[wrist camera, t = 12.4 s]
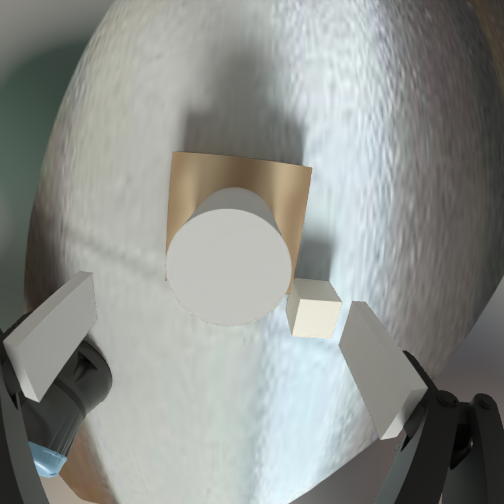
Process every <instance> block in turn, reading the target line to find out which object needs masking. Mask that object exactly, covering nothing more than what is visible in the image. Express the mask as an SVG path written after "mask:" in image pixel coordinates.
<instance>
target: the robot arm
mask: <svg viewBox="0 0 504 504" xmlns="http://www.w3.org/2000/svg"><path fill="white" fill-rule="evenodd" d="M97 320H98V318H97V311H96V303H95V294H94V284H93V273H90V272H84V271H79V272H78V273H77V274H76V275H75V276H73V277H72V278H71V279H70V280H69V281H68V282H66V283H65V284H64V285H63V286H62V287H61V288H59V289H58V290H57V291H56V292H55V293H54V294H53V295H51V296H50V297H49V298H48V299H47V300H46V301H45V302H44V303H42V304H41V305H40V306H39V307H38V308H37V309H36V310H35V311H31V312H29V313H27V314H25V315H23V316H22V317H21V318H20V319H19V320H17V322H16V323H14V324H13V325H12V327H10V328H9V329H8V330H7V331H6V332H5V333H3V332H2V330H1V328H0V504H49V502H48V499H47V497H46V494H45V492H44V489H43V486H42V484H41V481H40V478H39V475H40V476H43V477H54V476H56V475H57V474H58V473H59V471H60V470H61V468H62V466H63V464H64V463H65V461H67V456H68V453H69V451H70V449H71V447H72V444H73V442H74V440H75V438H76V436H77V433H78V431H79V429H80V427H81V425H82V423H83V421H84V418H85V416H86V415H87V414H88V413H89V412H90V411H91V410H92V409H94V408H95V407H96V406H97V405H98V404H99V403H100V402H102V401H103V400H104V399H105V398H106V397H107V395H108V393H109V391H110V389H111V386H112V376H111V372H110V370H109V368H108V366H107V364H106V363H105V361H104V360H103V358H102V357H101V356H100V355H99V353H98V352H97V351H96V350H95V349H94V348H92V347H91V346H90V345H89V344H88V343H86V342H85V341H83V338H84V337H85V336H86V334H87V333H88V332H89V330H90V329H91V328H92V326H93V325H94V324H95V322H96V321H97ZM339 347H340V350H341V352H342V354H343V356H344V358H345V360H346V363H347V365H348V367H349V369H350V371H351V373H352V376H353V378H354V380H355V382H356V384H357V387H358V389H359V391H360V393H361V396H362V398H363V400H364V402H365V405H366V407H367V409H368V412H369V414H370V416H371V418H372V421H373V423H374V425H375V428H376V430H377V432H378V435H379V437H380V439H387V438H392V437H397V435H398V434H399V432H400V431H401V430H402V428H403V427H404V429H405V431H406V433H407V434H406V435H405V437H404V438H403V439H402V441H401V442H400V443H399V445H398V446H397V447H396V449H395V450H396V451H397V450H398V449H399V450H398V452H397V454H396V457H395V459H394V461H393V463H392V465H391V468H390V470H389V472H388V474H387V476H386V478H385V480H384V482H383V484H382V486H381V488H380V490H379V492H378V494H377V496H376V498H375V500H374V501H373V503H372V504H438V503H439V500H440V497H441V494H442V504H504V429H503V425H502V421H501V418H500V414H499V411H498V407H497V404H496V402H495V401H494V400H493V399H492V397H490V396H489V395H486V394H483V393H482V394H480V393H479V394H476V395H475V397H474V398H473V399H472V401H471V402H470V403H467V402H459V401H458V399H457V398H456V397H455V396H454V395H453V394H452V393H450V392H448V391H443V390H438V389H437V388H436V386H435V385H434V383H433V382H432V380H431V379H430V378H429V376H428V375H427V373H426V372H424V369H423V368H422V367H421V366H420V364H419V362H418V361H417V360H416V358H415V357H414V356H413V355H411V354H410V353H409V352H407V351H402V350H401V349H400V347H399V346H398V345H397V343H396V342H395V341H394V339H393V338H392V336H391V335H390V334H389V332H388V331H387V330H386V328H385V327H384V326H383V324H382V323H381V322H380V320H379V319H378V318H377V316H376V315H375V314H374V312H373V311H372V310H371V308H370V307H369V306H368V305H367V303H366V302H360V301H352V304H351V307H350V311H349V314H348V317H347V321H346V324H345V327H344V330H343V333H342V336H341V340H340V343H339ZM472 442H473V445H472V447H471V443H472Z"/></svg>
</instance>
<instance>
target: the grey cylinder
mask: <svg viewBox="0 0 504 504" xmlns="http://www.w3.org/2000/svg"><path fill="white" fill-rule="evenodd" d="M165 268H166V277H167V281H168V284H169V287H170V289H171V291H172V293H173V295H174V297H175V298H176V300H177V301H178V302H179V303H180V305H181V306H182V307H183V308H184V309H186V310H187V311H188V312H189V313H190V314H192V315H193V316H195V317H197V318H199V319H201V320H203V321H205V322H208V323H211V324H215V325H220V326H239V325H245V324H249V323H252V322H254V321H257V320H259V319H261V318H263V317H264V316H266V315H267V314H269V313H270V312H271V311H272V310H273V309H275V308H276V306H277V305H278V304H279V303H280V302H281V300H282V299H283V297H284V296H285V294H286V292H287V289H288V287H289V284H290V279H291V271H292V267H291V258H290V254H289V251H288V248H287V246H286V243H285V241H284V239H283V237H282V234H281V232H280V230H279V228H278V225H277V223H276V221H275V219H274V217H273V214H272V212H271V210H270V208H269V206H268V205H267V203H266V202H265V201H264V200H263V199H262V198H261V197H260V196H259V195H257V194H256V193H254V192H252V191H250V190H248V189H244V188H239V187H229V188H224V189H221V190H218V191H216V192H214V193H212V194H211V195H210V196H208V197H207V198H206V199H205V200H204V201H203V202H202V204H201V205H200V206H199V207H198V208H197V209H196V211H195V212H194V213H193V214H192V215H191V216H190V218H189V219H188V220H187V221H186V222H185V223H184V225H183V226H182V227H181V228H180V229H179V231H178V232H177V233H176V235H175V236H174V238H173V239H172V241H171V243H170V246H169V248H168V251H167V256H166V264H165Z"/></svg>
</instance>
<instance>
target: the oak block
mask: <svg viewBox="0 0 504 504" xmlns="http://www.w3.org/2000/svg"><path fill="white" fill-rule="evenodd" d="M311 173H312V168H311V167H306V166H301V165H295V164H288V163H282V162H275V161H267V160H260V159H252V158H243V157H235V156H225V155H215V154H203V153H191V152H173V156H172V166H171V177H170V189H169V203H168V220H167V242H166V256H167V251H168V248H169V246H170V243H171V241H172V239H173V238H174V236H175V235H176V233H177V232H178V231H179V229H180V228H181V227H182V226H183V225H184V223H185V222H186V221H187V220H188V219H189V218H190V216H191V215H192V214H193V213H194V212H195V211H196V209H197V208H198V207H199V206H200V205H201V204H202V202H203V201H204V200H205V199H206V198H207V197H208V196H210V195H211V194H212V193H214V192H216V191H218V190H221V189H224V188H229V187H239V188H244V189H248V190H250V191H252V192H254V193H256V194H257V195H259V196H260V197H261V198H262V199H263V200H264V201H265V202H266V203H267V205H268V206H269V208H270V210H271V212H272V214H273V217H274V219H275V221H276V223H277V225H278V228H279V230H280V232H281V234H282V237H283V239H284V241H285V243H286V246H287V248H288V251H289V254H290V258H291V267H292V271H291V279H290V284H289V287H288V289H287V292H286V294H289V295H290V294H291V289H292V284H293V279H294V273H295V268H296V263H297V257H298V252H299V246H300V241H301V235H302V229H303V223H304V217H305V211H306V205H307V199H308V193H309V187H310V180H311ZM166 281H167V277H166Z"/></svg>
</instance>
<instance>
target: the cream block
mask: <svg viewBox="0 0 504 504" xmlns="http://www.w3.org/2000/svg"><path fill="white" fill-rule="evenodd" d="M341 305H342V301H341V299H340V298H339V296H338V295H337V293H336V291H335V290H334V288H333V286H332V285H331V283H330V282H329V281H323V280H313V279H303V278H294V279H293V284H292V289H291V294H290V295H289V298H288V303H287V307H286V314H287V318H288V322H289V327H290V331H291V335H292V336H297V337H315V338H332V335H333V332H334V329H335V326H336V322H337V319H338V315H339V312H340V308H341Z"/></svg>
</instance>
